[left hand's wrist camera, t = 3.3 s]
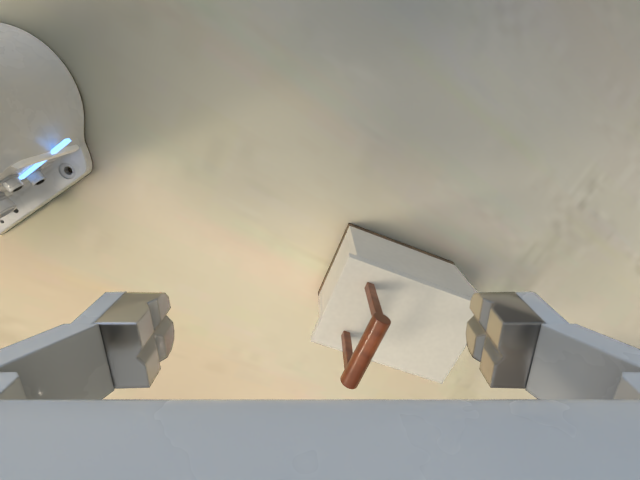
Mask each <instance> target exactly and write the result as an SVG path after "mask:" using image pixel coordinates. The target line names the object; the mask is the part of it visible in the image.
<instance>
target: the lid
mask: <svg viewBox="0 0 640 480" xmlns="http://www.w3.org/2000/svg"><path fill="white" fill-rule="evenodd" d="M471 298H472V297H469V296H466V295H463V294H461V293H458V292H455V291H452V290H450V289H447V288H444V287H441V286H439V285H436V284H433V283H430V282H428V281H425V280H422V279H419V278H417V277H414V276H411V275H408V274H406V273H403V272H400V271H397V270H395V269H392V268H389V267H386V266H384V265H381V264H378V263H375V262H373V261H370V260H367V259H364V258H362V257H359V256H356V255H353V254H351V253H348V255H347V257H346V259H345V261H344V264H343V266H342V268H341V270H340V272H339V275H338V277H337V279H336V281H335V283H334V286H333V288H332V290H331V292H330V294H329V297H328V299H327V301H326V303H325V305H324V308H323V310H322V312H321V314H320V316H319V319H318V321H317V323H316V325H315V327H314V329H313V332H312V334H311V342H314V343H317V344H320V345H323V346H327V347H330V348H333V349H336V350H339V351H342V352H343V359H344V369H345V370H344V372H343V374H342V376H341V382H342V384H343V385H344V386H345V387H347V388H349V389H355V388H356V387H357V386H358V384H359V382H360V380H361V378H362V377H363V375H364V373H365V371H366V369H367V367H368V365H369V364H370V362H371V361H373V362H376V363H379V364H382V365H385V366H388V367H391V368H394V369H398V370H401V371H404V372H407V373H410V374H413V375H416V376H419V377H422V378H425V379H428V380H432V381H435V382H438V383H441V384H442V383H443V382H444V380H445V379H446V377H447V375H448V374H449V372H450V371H451V369H452V367H453V366H454V364H455V363H456V361H457V360H458V358H459V356H460V355H461V353H462V352H463V350H464V349H465V347H466V345H467V343H466V326H467V322H468V321H469V320H470V319H471V318H472V316H473V315H474V314H473V313H472V311H471V310H470V308H469V307H470V301H471Z"/></svg>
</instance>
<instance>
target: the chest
mask: <svg viewBox="0 0 640 480" xmlns="http://www.w3.org/2000/svg"><path fill="white" fill-rule="evenodd" d="M348 253H351V254H353V255H356V256H359V257H362V258H364V259H367V260H370V261H373V262H375V263H378V264H381V265H384V266H386V267H389V268H392V269H395V270H397V271H400V272H403V273H406V274H408V275H411V276H414V277H417V278H419V279H422V280H425V281H428V282H430V283H433V284H436V285H439V286H441V287H444V288H447V289H450V290H452V291H455V292H458V293H461V294H463V295H466V296H469V297H472V295H473V294H474V293H478V292H477V291H476V290H475V289H474V288H473V286H472V285H471V284H470V283H469V282H468V280H467V279H466V278H465V277H464V275H463V274H462V273H461V272H460V271H459V269H458V268H457V267H456V266H455V264H454V263H453V262H451V261H449V260H446V259H443V258H441V257H438V256H435V255H433V254H430V253H427V252H425V251H422V250H420V249H417V248H414V247H412V246H409V245H406V244H404V243H401V242H398V241H396V240H393V239H390V238H388V237H385V236H382V235H380V234H377V233H374V232H372V231H369V230H366V229H364V228H361V227H358V226H356V225H353V224H350V223H349V224H348V226H347V228H346V230H345V233H344V235H343V237H342V239H341V242H340V244H339V246H338V248H337V251H336V253H335V255H334V257H333V260H332V262H331V264H330V267H329V269H328V271H327V273H326V276H325V278H324V280H323V282H322V285H321V287H320V289H319V291H318V296H319V316H320V314H321V312H322V310H323V308H324V305H325V303H326V301H327V299H328V297H329V294H330V292H331V290H332V288H333V286H334V283H335V281H336V279H337V277H338V275H339V272H340V270H341V268H342V266H343V264H344V261H345V259H346V257H347V255H348Z"/></svg>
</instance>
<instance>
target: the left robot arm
mask: <svg viewBox="0 0 640 480" xmlns="http://www.w3.org/2000/svg"><path fill="white" fill-rule="evenodd" d="M68 167H70V168H71V169H72V173H70V172H69V170H68ZM91 170H92V160H91V157H90V154H89V151H88V148H87V146H86V143H85V139H84V110H83V104H82V100H81V97H80V94H79V91H78V88H77V86H76V84H75V81H74V79H73V78H72V76H71V74H70V72H69V71H68V69H67V68H66V66H65V65H64V64H63V62H62V61H61V60H60V59H59V57H58V56H57V55H56V54H55V53H54V52H53V51H52V50H51V49H50V48H49V47H48V46H47V45H45V44H44V43H43V42H42V41H40V40H39V39H37V38H36V37H35V36H33V35H31V34H30V33H28V32H26V31H24V30H22V29H20V28H17V27H15V26H12V25H9V24H5V23H0V235H1V234H3V233H5V232H6V231H8V230H9V229H11V228H12V227H14V226H15V225H16V224H18V223H19V222H21V221H22V220H24V219H25V218H26V217H28V216H29V215H31V214H32V213H34V212H35V211H36V210H38V209H39V208H41V207H42V206H44V205H45V204H46V203H48V202H49V201H51V200H52V199H54V198H55V197H56V196H58V195H59V194H61V193H62V192H64V191H65V190H66V189H68V188H69V187H71V186H72V185H74V184H75V183H76V182H78V181H79V180H81V179H82V178H84V177H85V176H86V175H88V174H89V173H90V172H91ZM170 308H171V307H170V302H169V297H168V296H167V294H166V293H155V292H105V293H104V294H103V295H102V296H101V297H100V298H99V299H98V300H96V301H95V302H94V303H93V304H92V305H91V306H90V307H89V308H88V309H86V310H85V311H84V312H83V313H82V314H81V315H80V316H79V317H78V318H76V319H75V320H74V321H73V322H72V323H71V324H63V325H60V326H58V327H55V328H53V329H50V330H47V331H45V332H42V333H40V334H37V335H35V336H32V337H30V338H27V339H25V340H22V341H20V342H17V343H15V344H12V345H10V346H7V347H5V348H2V349H0V480H640V349H638V348H635V347H633V346H630V345H628V344H625V343H623V342H620V341H618V340H615V339H613V338H610V337H608V336H605V335H603V334H600V333H597V332H595V331H592V330H590V329H587V328H585V327H582V326H580V325H577V324H569V323H568V322H567V321H566V320H565V319H564V318H563V317H561V316H560V315H559V314H558V313H557V312H556V311H555V310H554V309H553V308H551V307H550V306H549V305H548V304H547V303H546V302H545V301H544V300H543V299H541V298H540V297H539V296H538V295H537V294H536V293H534V292H488V293H474V294H473V295H472V298H471V301H470V307H469V308H470V310H471V311H472V313H473V314H474V315H473V316H472V318H471V319H470V320H469V321H468V322H467V326H466V343H467V346H468V349H469V352H470V354H471V355H472V357H473V358H474V359H476V360H478V361H479V362H480V368H479V369H480V371H481V373H482V374H483V376H484V378H485V379H486V381H487V383H488V384H489V386H490V388H526V391H528V392H529V393H530V394H532V395H533V396H534V397H536V398H537V399H533V400H102V399H103V398H104V397H106V396H107V395H109V394H110V393H111V392H113V391H114V388H150V386H151V384H152V383H153V381H154V379H155V378H156V376H157V374H158V373H159V371H160V369H161V368H160V362H161V361H162V360H164V359H166V358H167V357H168V355H169V354H170V352H171V350H172V346H173V342H174V325H173V322H172V321H171V320H170V319H169V318H168V316H167V315H166V314H167V313H168V311H169V310H170Z"/></svg>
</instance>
